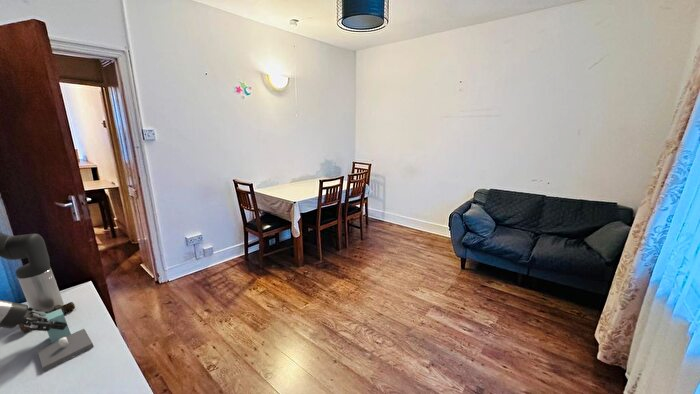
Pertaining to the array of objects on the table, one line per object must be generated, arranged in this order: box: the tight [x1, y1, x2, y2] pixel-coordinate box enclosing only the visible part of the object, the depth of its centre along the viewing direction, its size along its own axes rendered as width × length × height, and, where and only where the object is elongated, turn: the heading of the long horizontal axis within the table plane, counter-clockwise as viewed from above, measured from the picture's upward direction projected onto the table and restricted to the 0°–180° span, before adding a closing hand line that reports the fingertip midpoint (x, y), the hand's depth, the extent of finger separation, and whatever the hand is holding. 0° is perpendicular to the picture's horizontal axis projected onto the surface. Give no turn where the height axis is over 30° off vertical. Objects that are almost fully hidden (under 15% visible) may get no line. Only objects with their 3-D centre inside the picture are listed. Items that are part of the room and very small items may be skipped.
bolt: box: [18, 301, 76, 334], centre depth 111 cm, size 6×5×15 cm
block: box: [43, 309, 72, 343], centre depth 102 cm, size 5×5×9 cm
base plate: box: [36, 328, 94, 372], centre depth 96 cm, size 12×12×4 cm
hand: (63, 323), depth 103 cm, fingers closed on block, 5 cm apart
